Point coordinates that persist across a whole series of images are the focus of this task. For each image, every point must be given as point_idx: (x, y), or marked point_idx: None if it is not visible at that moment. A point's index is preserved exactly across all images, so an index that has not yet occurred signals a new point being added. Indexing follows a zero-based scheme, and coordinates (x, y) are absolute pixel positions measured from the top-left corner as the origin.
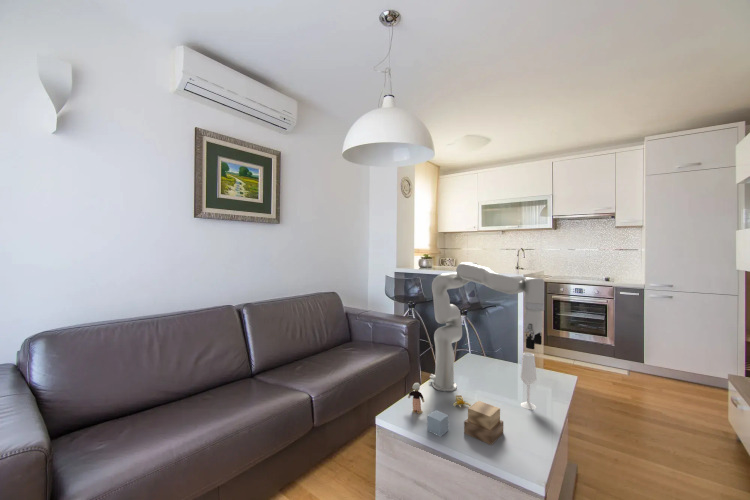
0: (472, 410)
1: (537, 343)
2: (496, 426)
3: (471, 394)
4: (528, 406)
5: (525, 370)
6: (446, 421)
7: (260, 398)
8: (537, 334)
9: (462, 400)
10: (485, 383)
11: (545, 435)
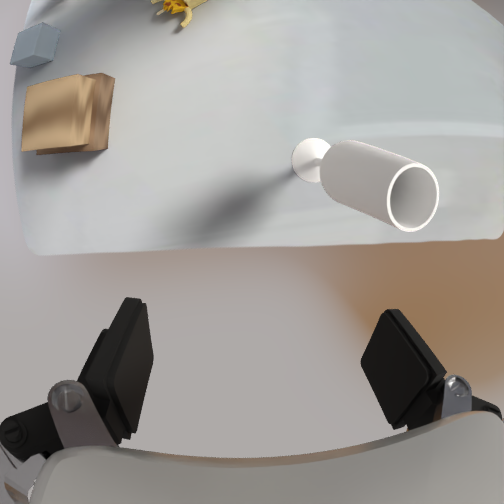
0: (26, 99)
1: (371, 343)
2: (61, 150)
3: (282, 5)
4: (300, 163)
5: (340, 168)
6: (33, 58)
7: None
8: (415, 411)
9: (186, 3)
10: (389, 34)
11: (166, 231)
